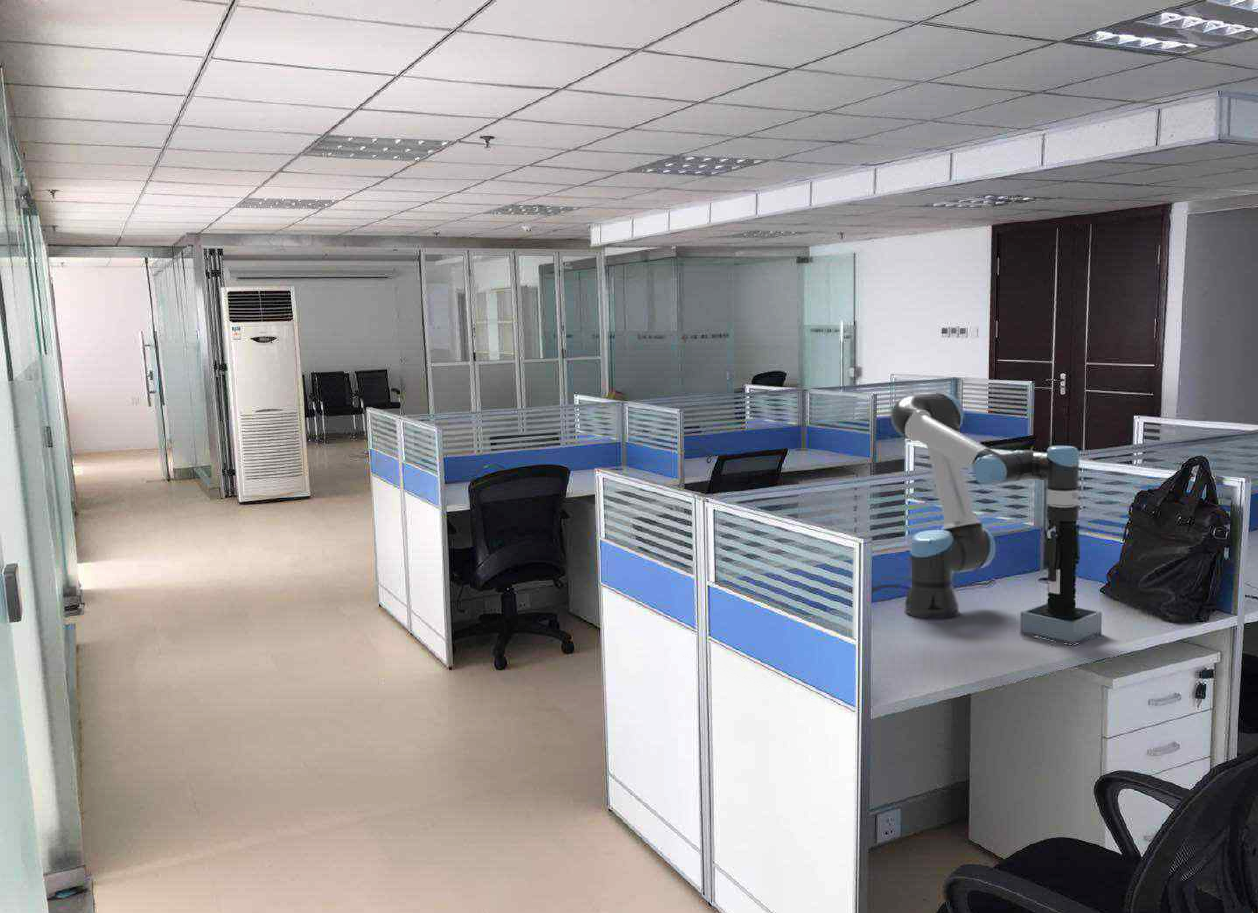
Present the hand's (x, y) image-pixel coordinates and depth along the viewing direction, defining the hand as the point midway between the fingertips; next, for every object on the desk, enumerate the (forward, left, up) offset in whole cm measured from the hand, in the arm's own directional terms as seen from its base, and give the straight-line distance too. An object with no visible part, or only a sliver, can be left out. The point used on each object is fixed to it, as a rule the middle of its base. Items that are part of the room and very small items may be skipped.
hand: (1061, 590), depth 257 cm
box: (0, 0, -12) cm, 12 cm away
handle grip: (0, 0, -7) cm, 7 cm away
